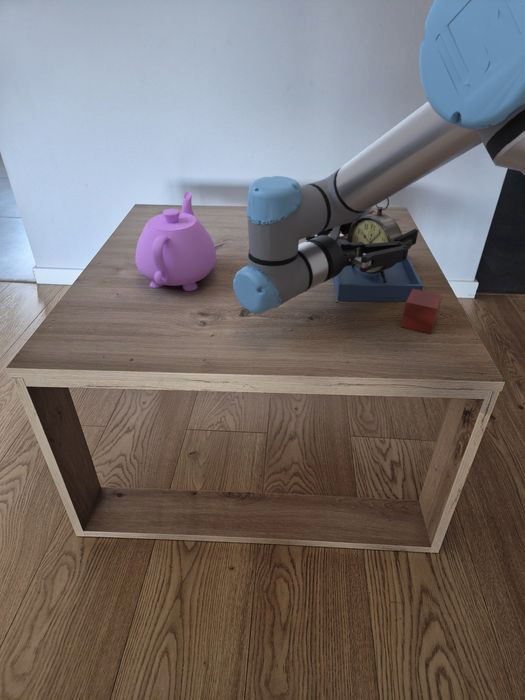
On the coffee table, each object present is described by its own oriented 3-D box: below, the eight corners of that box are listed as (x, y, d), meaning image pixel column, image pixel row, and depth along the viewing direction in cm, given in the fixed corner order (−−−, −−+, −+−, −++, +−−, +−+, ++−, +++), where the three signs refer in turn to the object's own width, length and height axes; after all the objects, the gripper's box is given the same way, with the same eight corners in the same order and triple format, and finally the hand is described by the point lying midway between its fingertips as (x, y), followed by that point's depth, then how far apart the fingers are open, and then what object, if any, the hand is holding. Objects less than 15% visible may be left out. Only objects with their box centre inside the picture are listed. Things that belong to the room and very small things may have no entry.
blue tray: (420, 301, 91) (423, 285, 89) (337, 300, 92) (339, 285, 90) (399, 255, 107) (401, 241, 105) (328, 255, 107) (329, 241, 105)
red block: (436, 319, 86) (442, 294, 83) (430, 334, 83) (436, 308, 80) (407, 313, 88) (412, 288, 85) (400, 327, 85) (405, 301, 82)
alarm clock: (342, 267, 101) (350, 187, 91) (361, 259, 104) (370, 181, 94) (383, 287, 94) (396, 203, 84) (402, 279, 97) (417, 197, 87)
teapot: (161, 249, 110) (153, 187, 102) (230, 254, 108) (227, 191, 100) (122, 299, 92) (108, 229, 84) (202, 306, 90) (196, 235, 82)
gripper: (265, 260, 93) (339, 228, 105) (367, 307, 79) (439, 264, 91) (265, 222, 88) (342, 193, 101) (373, 265, 75) (448, 225, 87)
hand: (388, 227), depth 96 cm, fingers closed on alarm clock, 11 cm apart
